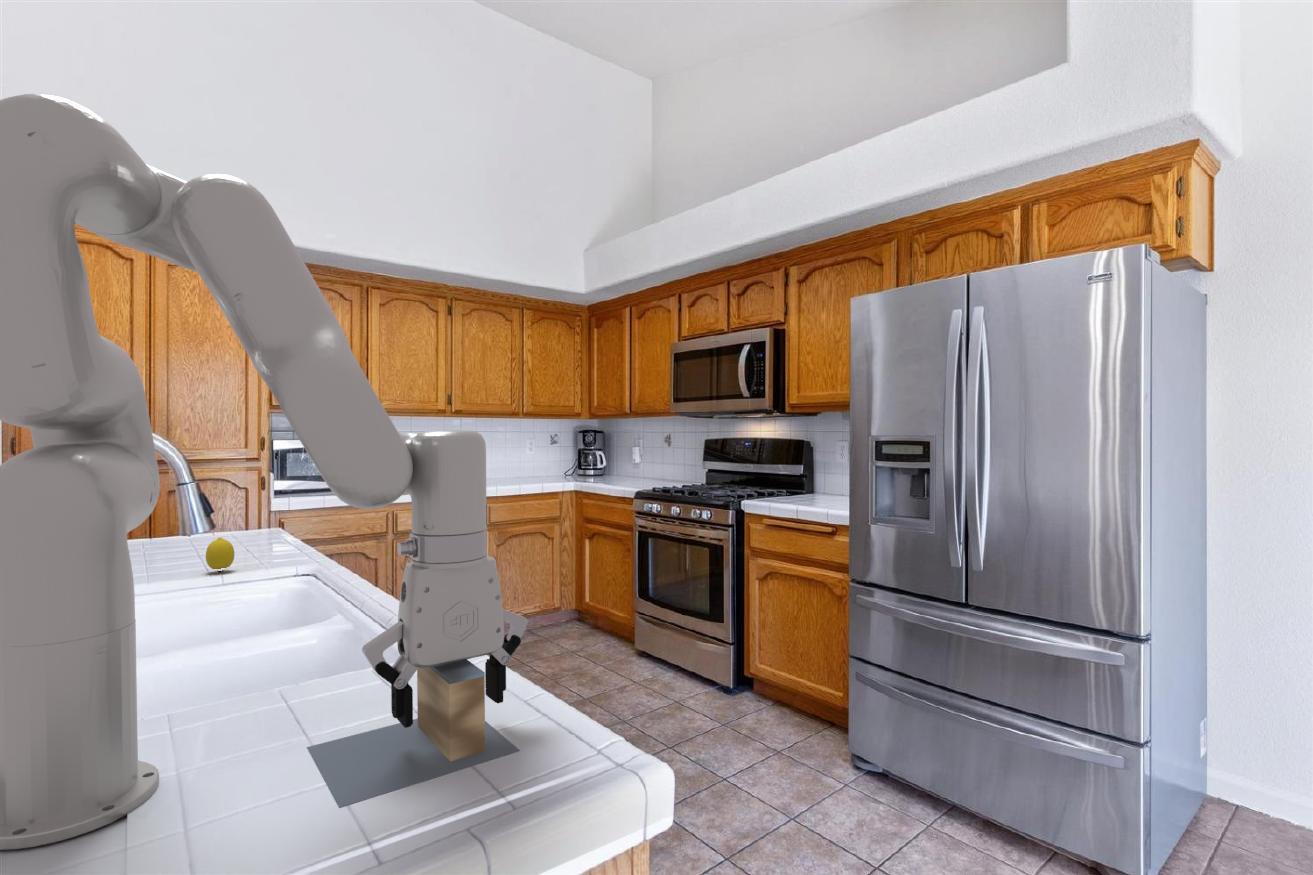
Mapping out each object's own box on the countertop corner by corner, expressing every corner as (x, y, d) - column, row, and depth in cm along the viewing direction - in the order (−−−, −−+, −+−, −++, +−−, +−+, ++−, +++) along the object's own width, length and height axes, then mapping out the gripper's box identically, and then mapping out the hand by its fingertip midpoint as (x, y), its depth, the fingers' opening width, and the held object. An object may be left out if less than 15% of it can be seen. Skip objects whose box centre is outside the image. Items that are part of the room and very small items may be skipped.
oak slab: (450, 761, 67) (449, 680, 67) (417, 725, 75) (417, 653, 75) (485, 751, 69) (484, 672, 69) (450, 717, 77) (449, 646, 77)
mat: (339, 811, 59) (339, 807, 59) (306, 750, 70) (306, 746, 70) (520, 754, 69) (520, 750, 69) (467, 708, 80) (467, 705, 80)
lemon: (228, 569, 160) (227, 534, 160) (239, 572, 157) (238, 537, 157) (201, 573, 156) (201, 538, 155) (212, 576, 152) (211, 540, 152)
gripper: (373, 564, 64) (375, 747, 64) (540, 544, 74) (541, 701, 74) (352, 552, 70) (354, 719, 70) (510, 535, 80) (511, 681, 80)
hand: (451, 710), depth 72 cm, fingers open, 9 cm apart
